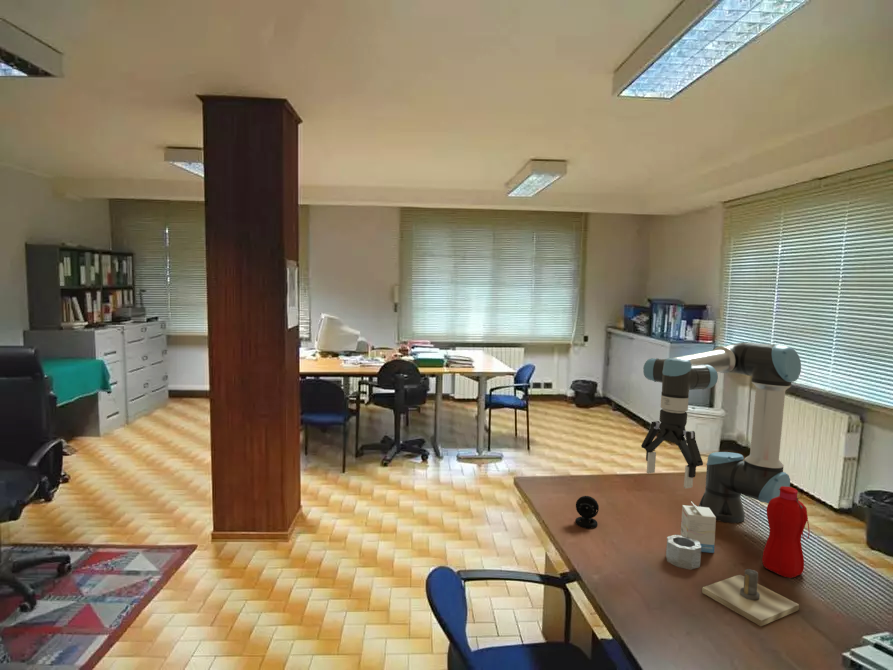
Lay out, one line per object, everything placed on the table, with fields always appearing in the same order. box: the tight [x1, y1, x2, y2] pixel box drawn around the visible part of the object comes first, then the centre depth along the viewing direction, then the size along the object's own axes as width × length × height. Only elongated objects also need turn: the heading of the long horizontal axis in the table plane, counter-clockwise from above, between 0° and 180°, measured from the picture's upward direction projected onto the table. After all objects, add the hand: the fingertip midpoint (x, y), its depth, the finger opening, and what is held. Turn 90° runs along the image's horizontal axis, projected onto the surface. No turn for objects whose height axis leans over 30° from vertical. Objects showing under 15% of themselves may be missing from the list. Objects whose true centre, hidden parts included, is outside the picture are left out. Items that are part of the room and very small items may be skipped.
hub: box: [665, 534, 702, 570], centre depth 159 cm, size 9×9×6 cm
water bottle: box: [761, 486, 810, 579], centre depth 154 cm, size 9×11×25 cm
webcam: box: [575, 495, 600, 530], centre depth 182 cm, size 8×8×10 cm
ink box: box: [680, 501, 717, 554], centre depth 169 cm, size 9×8×13 cm
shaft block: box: [701, 568, 800, 627], centre depth 138 cm, size 16×16×8 cm
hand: (668, 479), depth 158 cm, fingers open, 13 cm apart
